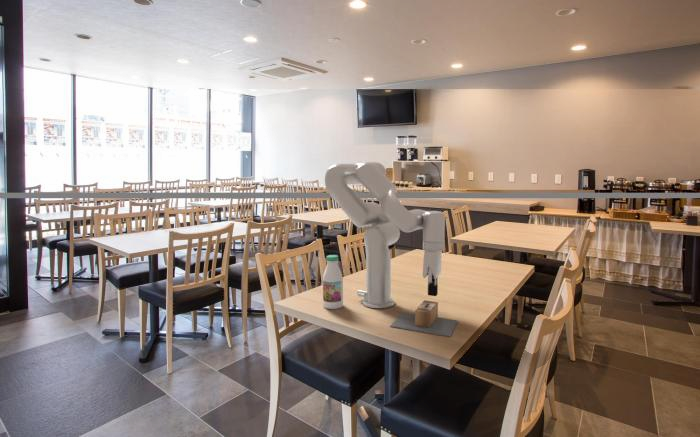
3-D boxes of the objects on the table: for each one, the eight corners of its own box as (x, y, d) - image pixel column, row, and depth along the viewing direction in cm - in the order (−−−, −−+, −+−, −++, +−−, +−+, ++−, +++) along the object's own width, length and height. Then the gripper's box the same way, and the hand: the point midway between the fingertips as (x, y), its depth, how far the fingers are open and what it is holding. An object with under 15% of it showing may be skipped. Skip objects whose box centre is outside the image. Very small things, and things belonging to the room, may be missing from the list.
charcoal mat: (390, 326, 134) (390, 325, 134) (402, 312, 147) (402, 311, 147) (450, 337, 126) (450, 336, 125) (458, 321, 138) (458, 320, 138)
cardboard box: (424, 313, 145) (414, 325, 134) (424, 299, 144) (415, 309, 133) (437, 315, 143) (429, 327, 132) (438, 301, 142) (429, 312, 131)
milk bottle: (327, 302, 159) (326, 253, 157) (345, 303, 157) (345, 254, 154) (320, 308, 152) (319, 257, 149) (339, 310, 150) (338, 258, 147)
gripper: (428, 241, 150) (427, 288, 153) (417, 248, 137) (417, 300, 139) (448, 242, 147) (447, 290, 150) (439, 250, 134) (438, 302, 136)
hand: (432, 295), depth 145 cm, fingers closed
